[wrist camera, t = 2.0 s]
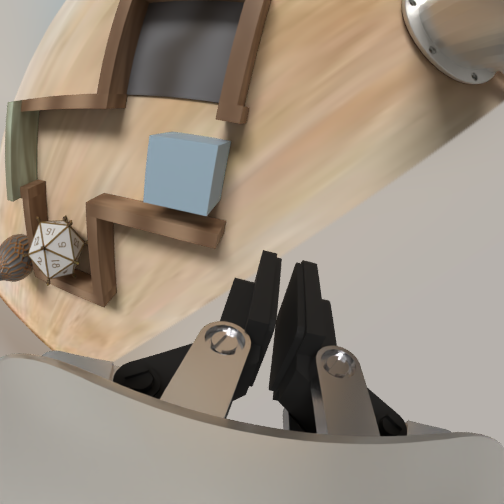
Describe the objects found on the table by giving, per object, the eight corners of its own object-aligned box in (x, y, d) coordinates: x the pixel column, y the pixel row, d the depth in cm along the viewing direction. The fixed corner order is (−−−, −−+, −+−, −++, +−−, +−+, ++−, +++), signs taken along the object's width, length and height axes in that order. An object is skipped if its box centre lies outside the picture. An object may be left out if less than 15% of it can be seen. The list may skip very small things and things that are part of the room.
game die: (97, 235, 36) (85, 301, 31) (48, 229, 33) (32, 293, 28) (88, 197, 28) (68, 276, 24) (31, 192, 26) (6, 266, 21)
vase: (42, 238, 33) (4, 265, 25) (44, 272, 36) (11, 301, 29) (17, 222, 33) (-19, 245, 25) (20, 255, 36) (-12, 281, 28)
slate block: (231, 141, 25) (218, 145, 20) (220, 199, 27) (206, 216, 23) (173, 131, 25) (149, 135, 20) (165, 188, 28) (143, 202, 23)
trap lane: (277, -5, 17) (274, -28, 13) (208, 321, 35) (197, 348, 30) (52, 16, 18) (27, 11, 13) (41, 262, 35) (21, 277, 31)
